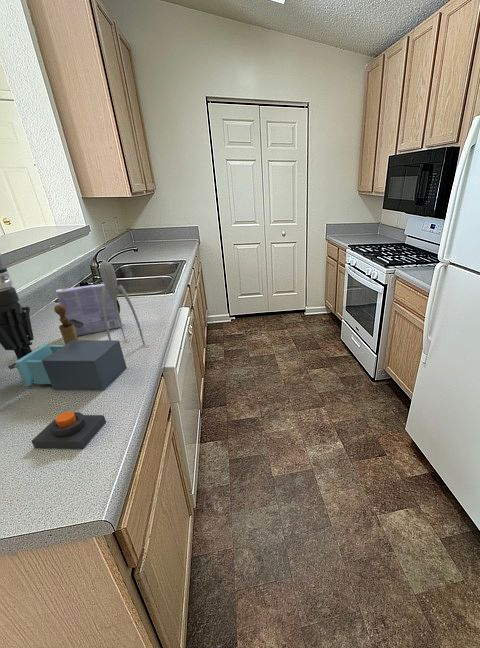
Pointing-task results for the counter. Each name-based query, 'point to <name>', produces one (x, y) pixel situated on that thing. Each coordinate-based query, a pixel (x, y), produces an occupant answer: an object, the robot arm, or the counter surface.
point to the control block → (70, 433)
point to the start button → (65, 419)
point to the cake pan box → (88, 308)
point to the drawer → (34, 365)
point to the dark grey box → (85, 365)
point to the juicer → (113, 294)
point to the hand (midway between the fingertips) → (29, 366)
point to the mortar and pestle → (65, 325)
